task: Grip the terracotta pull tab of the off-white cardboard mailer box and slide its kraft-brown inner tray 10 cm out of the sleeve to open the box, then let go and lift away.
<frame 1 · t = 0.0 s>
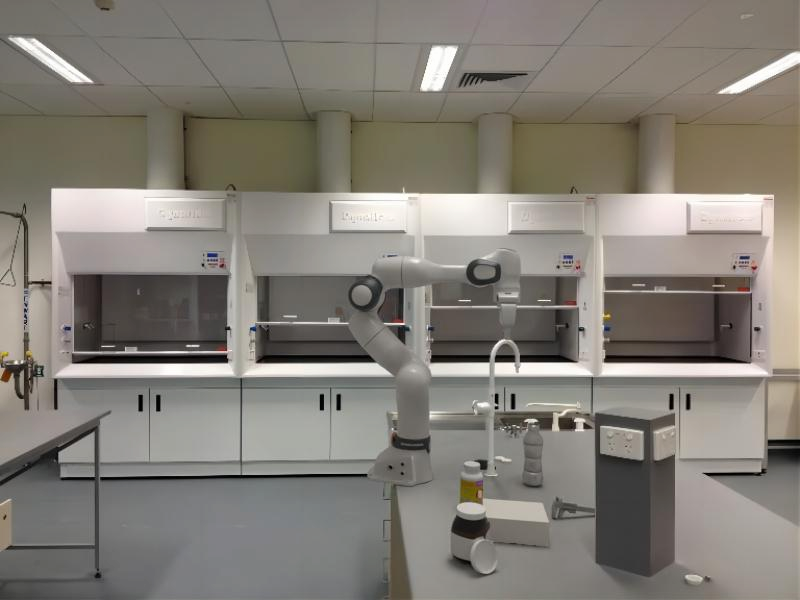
hand: (506, 338, 165), 48 cm above the table, tool pointing down, fingers open, 8 cm apart
caliper: (585, 518, 140), on the table
supplement bottle: (471, 508, 144), on the table
plastic bottle: (532, 485, 163), on the table
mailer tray: (509, 513, 129), point 5 cm above the table, slide at 0.0 cm
spread jar: (475, 562, 114), on the table
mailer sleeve: (513, 532, 129), on the table
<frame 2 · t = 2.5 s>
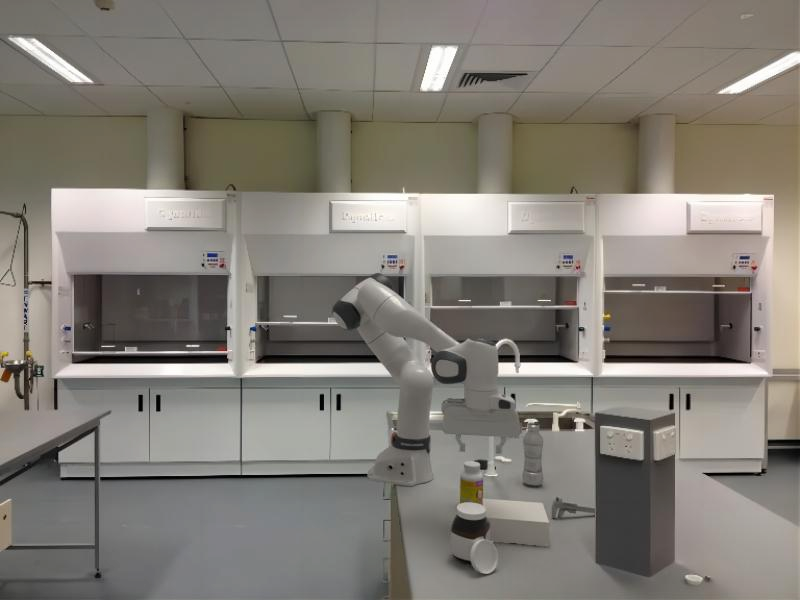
hand: (480, 452, 130), 21 cm above the table, tool pointing down, fingers open, 8 cm apart
nothing on the table moved.
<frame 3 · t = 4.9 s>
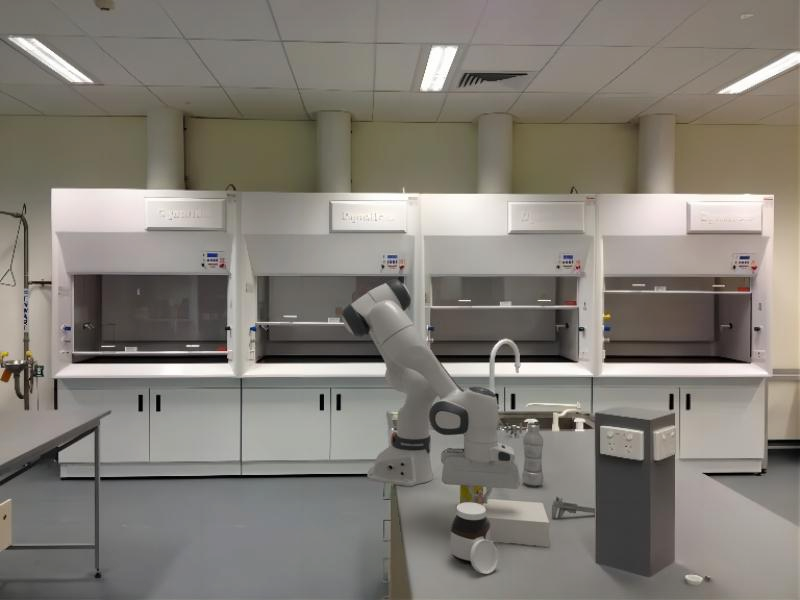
hand: (479, 502, 130), 7 cm above the table, tool pointing down, fingers closed on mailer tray
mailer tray: (509, 513, 129), point 5 cm above the table, slide at 0.0 cm, touching gripper
everything else where it was.
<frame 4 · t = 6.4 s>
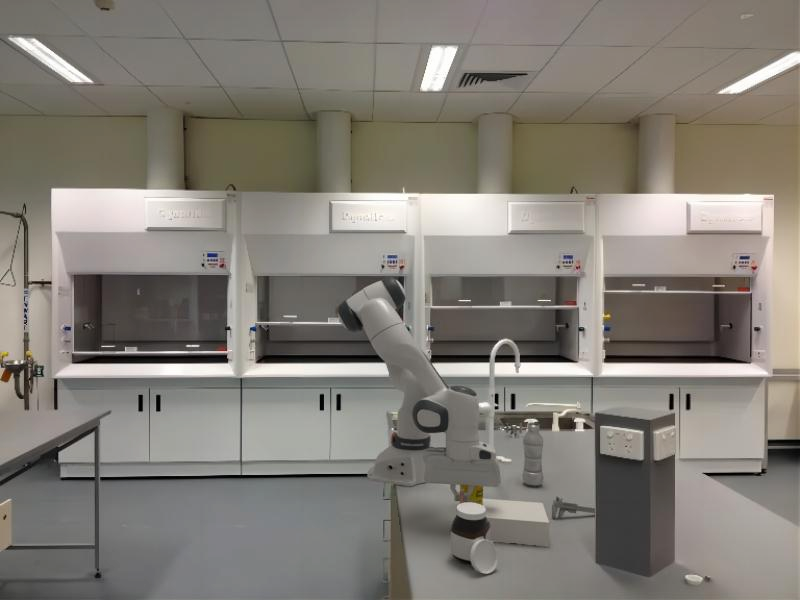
hand: (461, 500, 131), 7 cm above the table, tool pointing down, fingers closed on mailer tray
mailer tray: (490, 512, 130), point 5 cm above the table, slide at 4.8 cm, touching gripper
everything else where it was.
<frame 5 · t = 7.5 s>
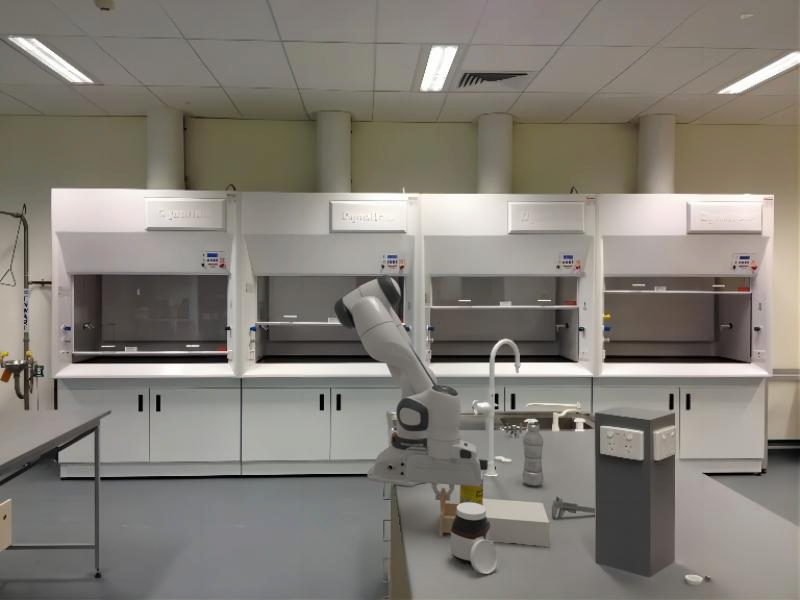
hand: (442, 499, 132), 7 cm above the table, tool pointing down, fingers closed on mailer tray
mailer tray: (471, 511, 131), point 5 cm above the table, slide at 9.8 cm, touching gripper
everything else where it was.
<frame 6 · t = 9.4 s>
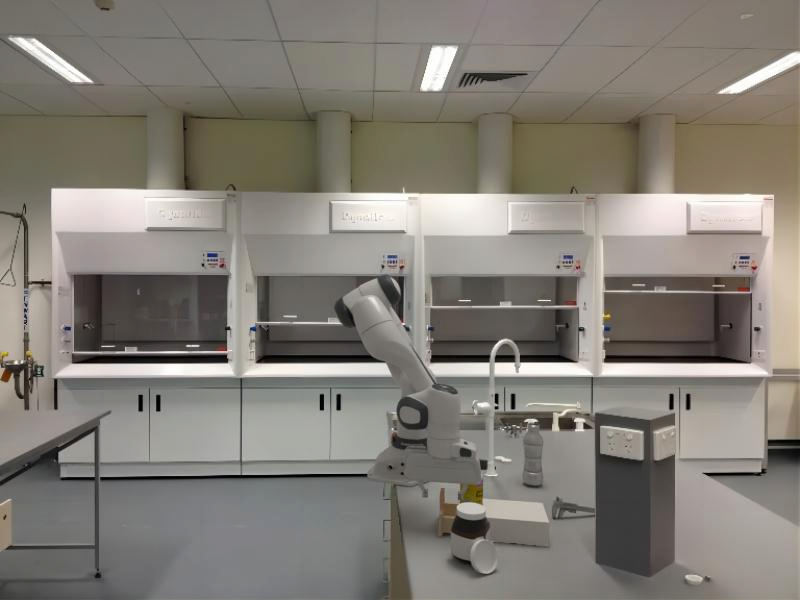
hand: (442, 498, 132), 8 cm above the table, tool pointing down, fingers open, 8 cm apart
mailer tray: (471, 510, 131), point 5 cm above the table, slide at 10.0 cm
everything else where it was.
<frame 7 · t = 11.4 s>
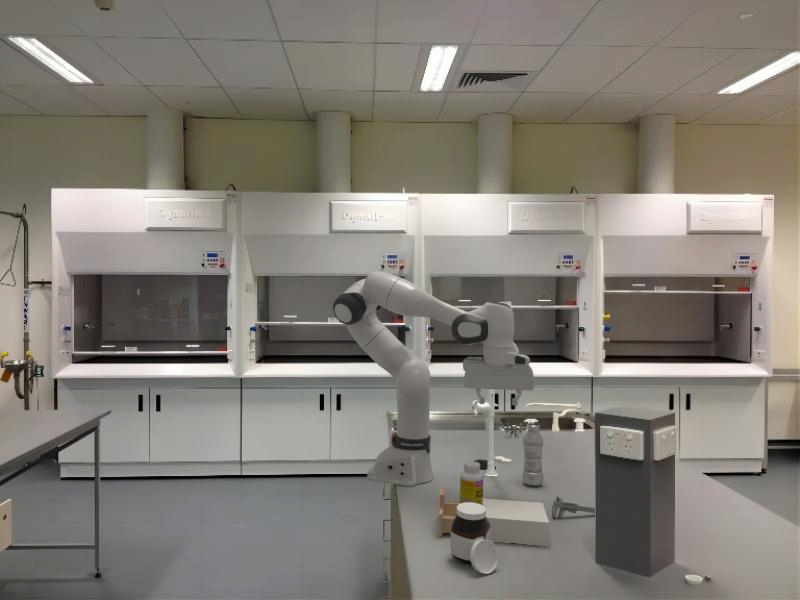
hand: (498, 404, 145), 30 cm above the table, tool pointing down, fingers open, 8 cm apart
nothing on the table moved.
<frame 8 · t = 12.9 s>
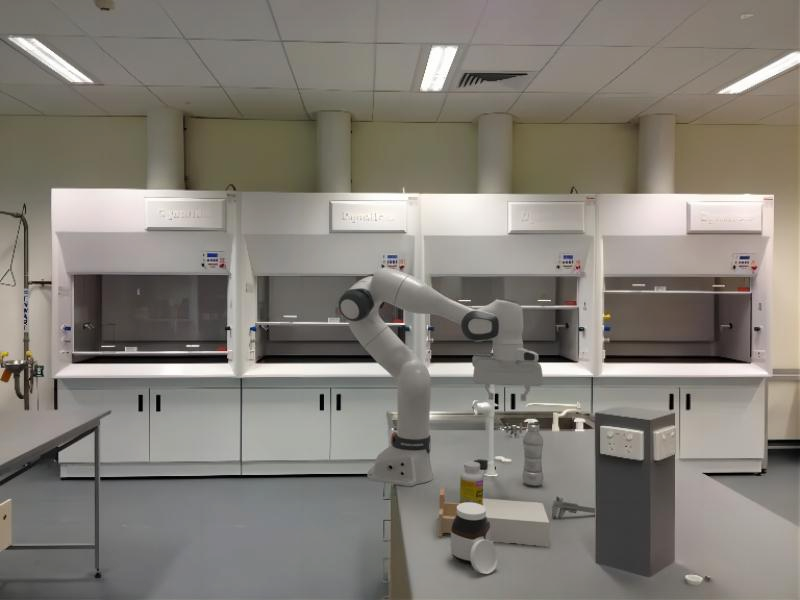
hand: (507, 399, 147), 31 cm above the table, tool pointing down, fingers open, 8 cm apart
nothing on the table moved.
at the end: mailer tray slide at 10.0 cm; the gripper is holding nothing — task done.
